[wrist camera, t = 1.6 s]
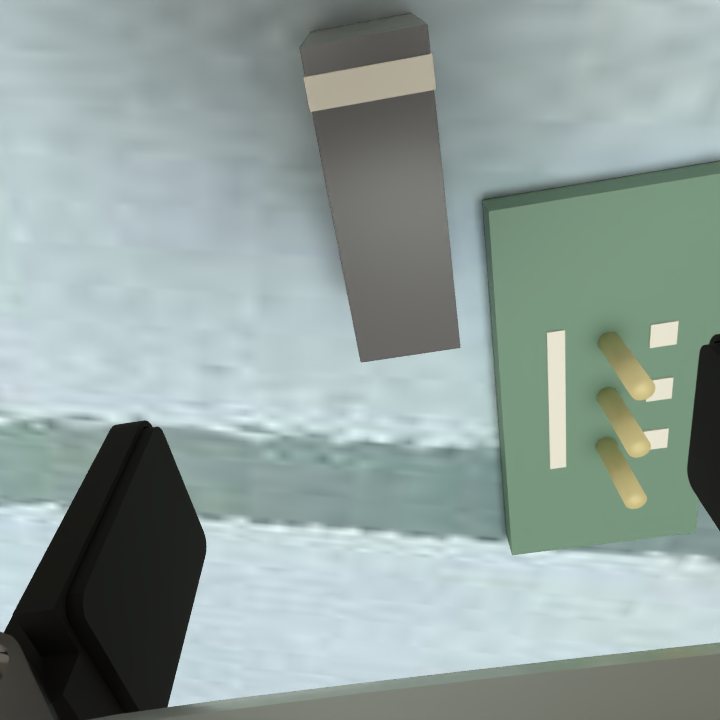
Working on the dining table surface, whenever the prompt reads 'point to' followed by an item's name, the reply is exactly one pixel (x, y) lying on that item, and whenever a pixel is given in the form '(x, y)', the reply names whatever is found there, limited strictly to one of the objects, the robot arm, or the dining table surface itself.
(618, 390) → the header board
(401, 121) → the block
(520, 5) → the dining table surface
